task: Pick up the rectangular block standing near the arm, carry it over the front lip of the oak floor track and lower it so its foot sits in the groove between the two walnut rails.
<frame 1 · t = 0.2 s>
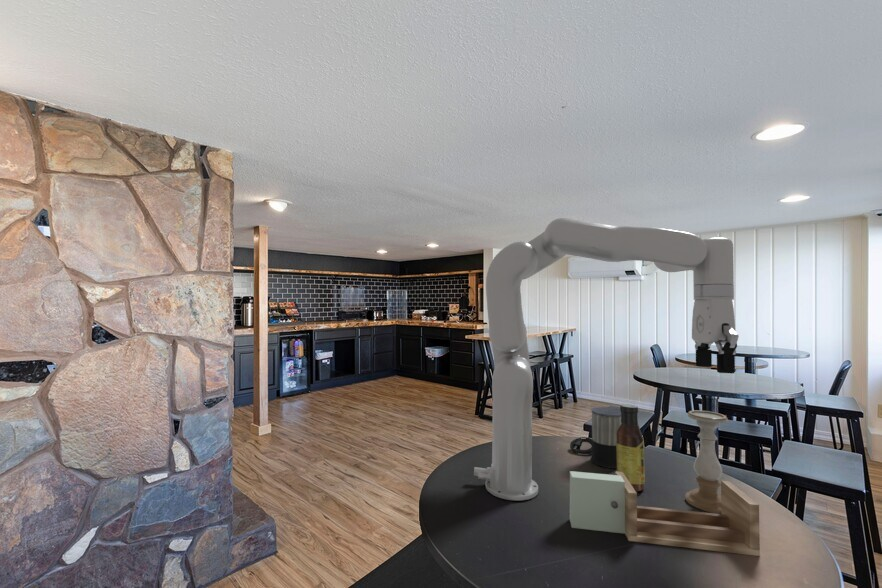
hand: (714, 369, 88), 31 cm above the table, tool pointing down, fingers open, 9 cm apart
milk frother: (596, 458, 116), on the table
track: (681, 533, 77), on the table
rectangular block: (596, 526, 79), on the table
sauce bottle: (630, 487, 97), on the table
candle holder: (708, 505, 89), on the table
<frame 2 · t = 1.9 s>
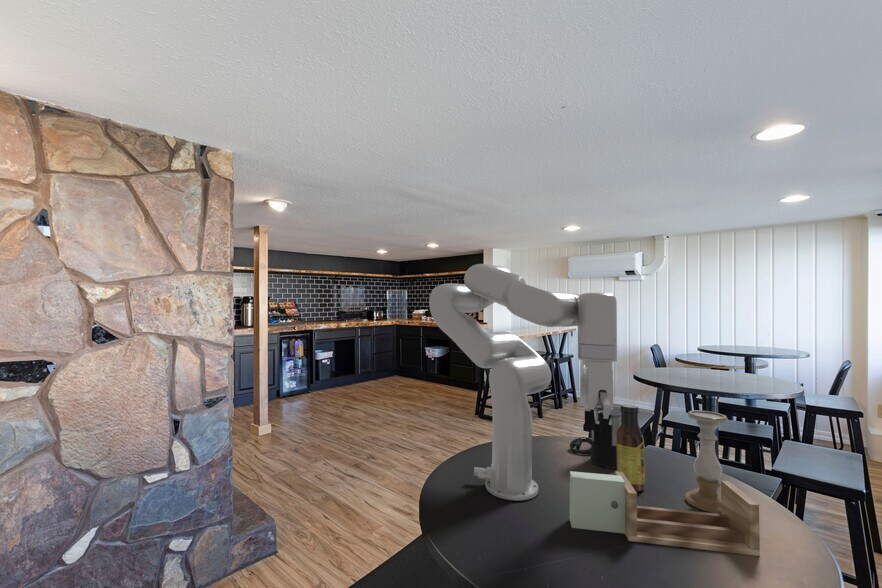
hand: (597, 437, 80), 18 cm above the table, tool pointing down, fingers open, 9 cm apart
nothing on the table moved.
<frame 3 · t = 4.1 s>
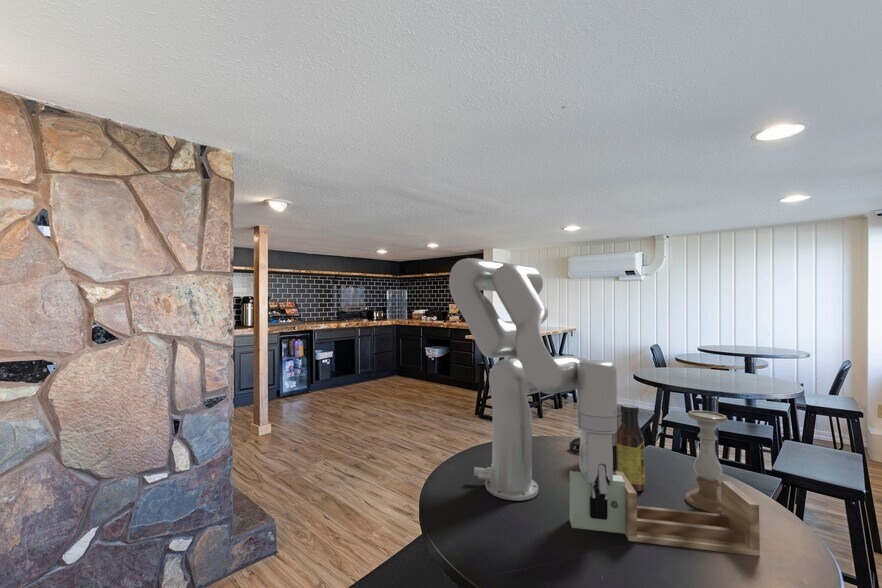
hand: (596, 512, 79), 3 cm above the table, tool pointing down, fingers closed on rectangular block, 3 cm apart
rectangular block: (596, 526, 79), on the table, touching gripper, track
everything else where it was.
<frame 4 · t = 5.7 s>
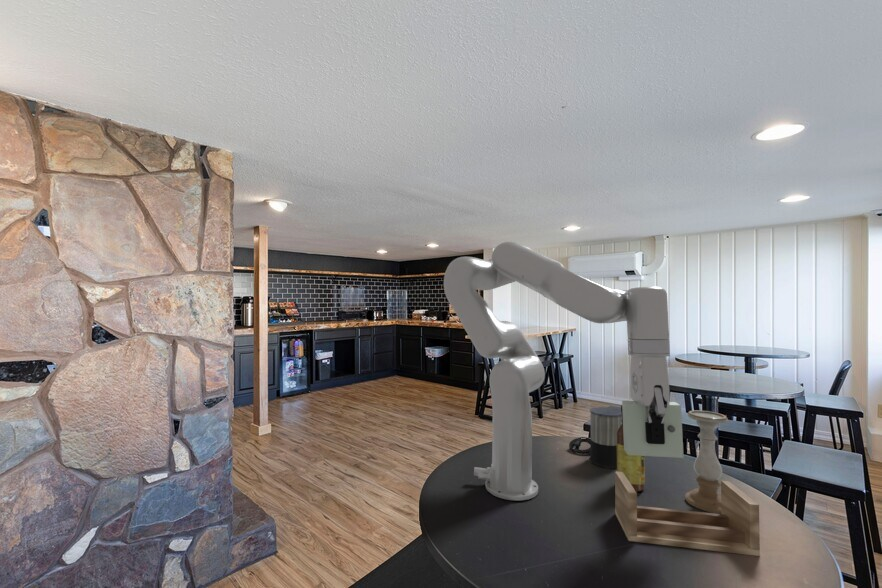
hand: (652, 439, 78), 18 cm above the table, tool pointing down, fingers closed on rectangular block, 3 cm apart
rectangular block: (652, 453, 78), point 15 cm above the table, touching gripper
everything else where it was.
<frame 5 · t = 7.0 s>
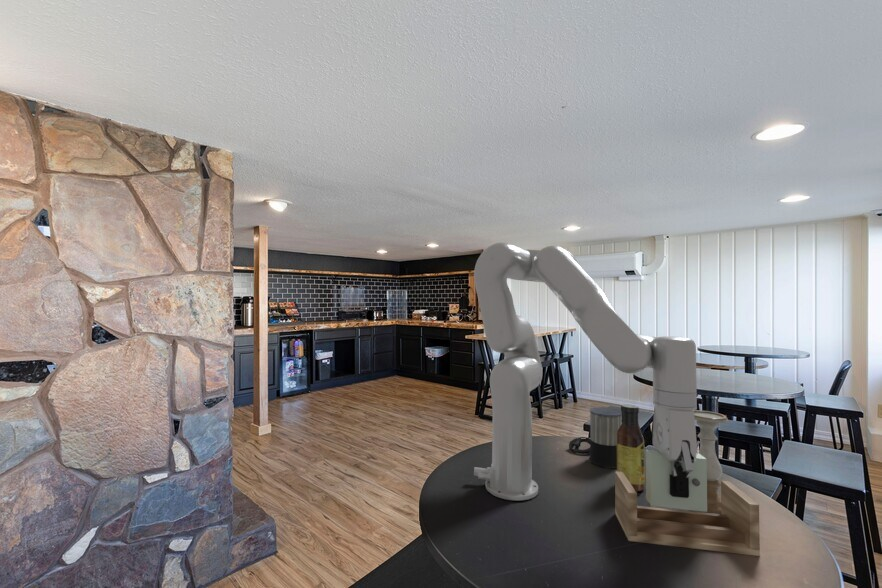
hand: (675, 491, 78), 8 cm above the table, tool pointing down, fingers closed on rectangular block, 3 cm apart
rectangular block: (675, 505, 78), point 5 cm above the table, touching gripper
everything else where it was.
when the fingers open (5 cm above the table, at t = 7.7 s): rectangular block stays where it is, resting on track.
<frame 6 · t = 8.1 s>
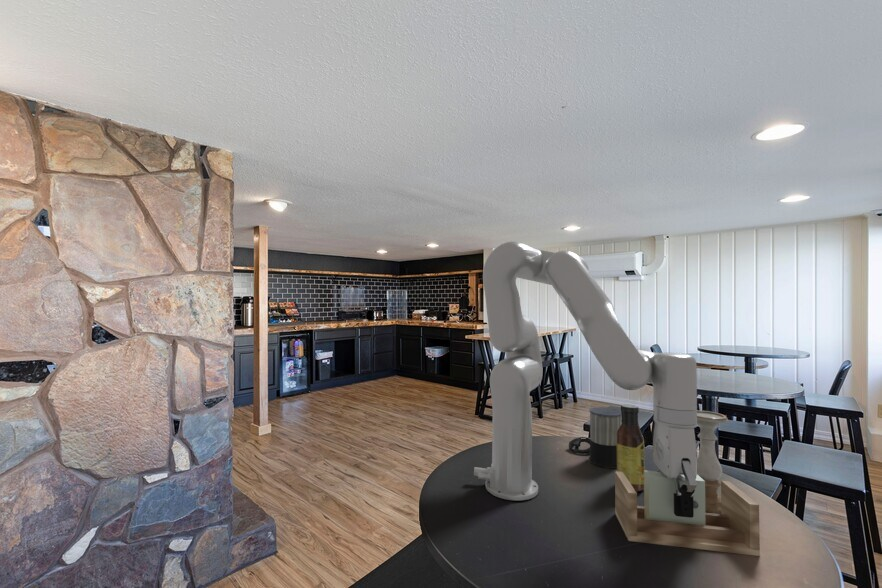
hand: (675, 505, 78), 5 cm above the table, tool pointing down, fingers open, 7 cm apart
rectangular block: (674, 526, 78), point 1 cm above the table, touching track
everything else where it was.
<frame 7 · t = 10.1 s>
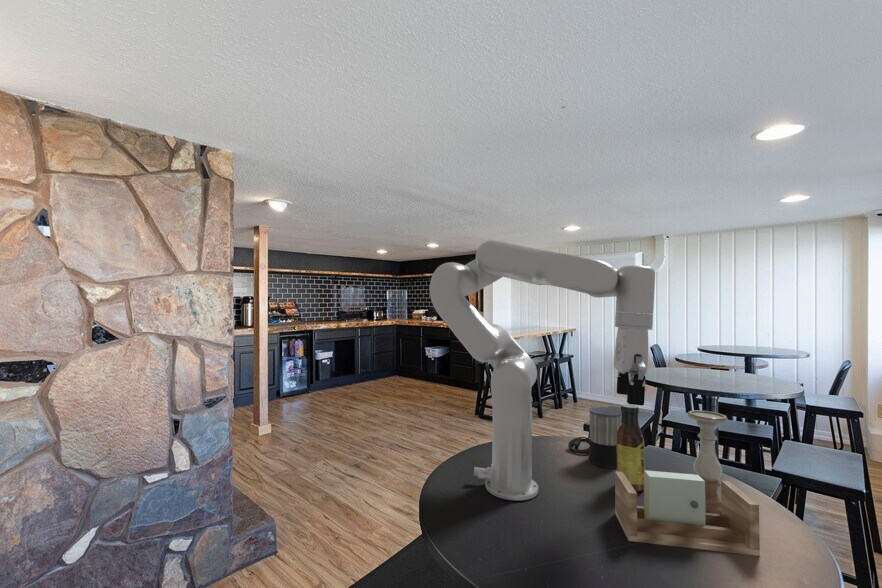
hand: (629, 399, 86), 24 cm above the table, tool pointing down, fingers open, 9 cm apart
nothing on the table moved.
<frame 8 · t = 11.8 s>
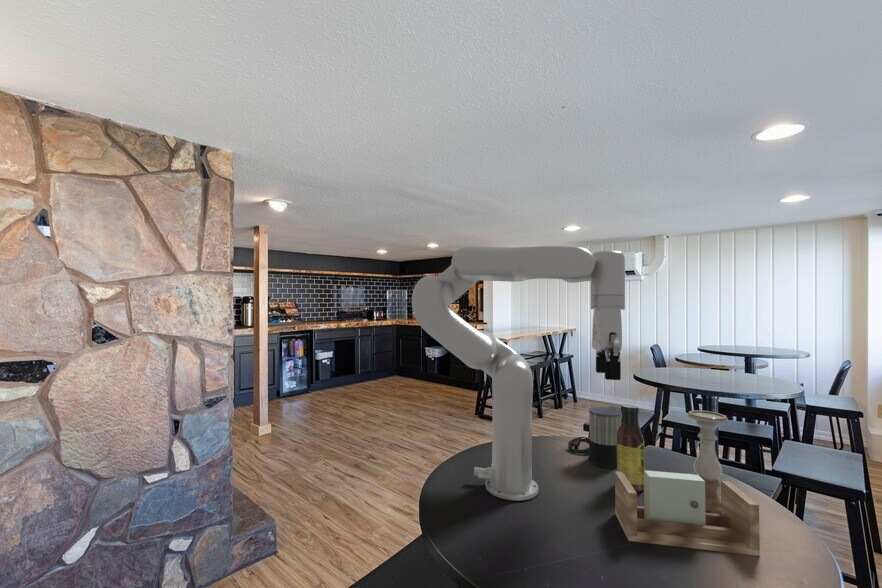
hand: (607, 376, 92), 28 cm above the table, tool pointing down, fingers open, 9 cm apart
nothing on the table moved.
at the end: rectangular block inside the target area on the track (0.2 cm from its centre), point 1.0 cm above the track's base; rectangular block tilted 0°; the gripper is holding nothing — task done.
